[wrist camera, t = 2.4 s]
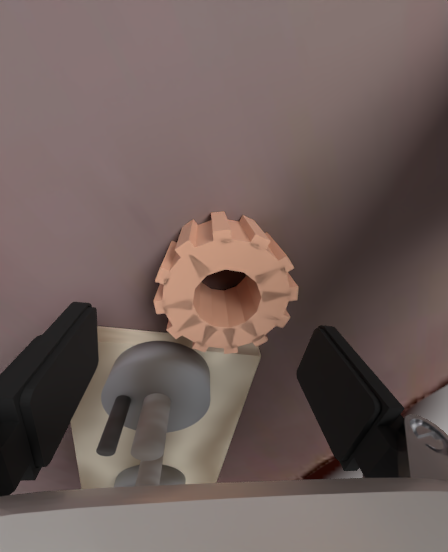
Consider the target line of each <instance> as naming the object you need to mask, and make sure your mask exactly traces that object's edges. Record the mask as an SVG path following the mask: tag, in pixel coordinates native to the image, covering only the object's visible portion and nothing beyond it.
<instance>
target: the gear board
mask: <svg viewBox="0 0 448 552" xmlns="http://www.w3.org/2000/svg"><path fill="white" fill-rule="evenodd" d="M97 333H98V355H99V362H98V366H97V369H96V371H95V373H94V375H93V377H92V379H91V381H90V383H89V385H88V387H87V389H86V391H85V393H84V395H83V397H82V399H81V401H80V403H79V405H78V407H77V409H76V411H75V413H74V415H73V417H72V419H71V428H72V434H73V440H74V446H75V452H76V458H77V464H78V470H79V476H80V482H81V489H93V488H109V487H132V486H156V485H180V484H204V483H216V482H217V479H218V476H219V473H220V470H221V468H222V465H223V462H224V459H225V456H226V453H227V451H228V448H229V445H230V442H231V439H232V437H233V434H234V431H235V428H236V425H237V423H238V420H239V417H240V414H241V411H242V408H243V406H244V403H245V400H246V397H247V394H248V392H249V389H250V386H251V383H252V380H253V378H254V375H255V372H256V369H257V366H258V363H259V361H260V358H261V354H260V351H259V347H258V346H257V347H256V346H255V345H254V344H253V342H252V343H249V344H246V345H242V346H239V347H238V353H230V354H224V348H214V347H208V348H207V350H206V352H202V351H199V350H196V349H192V344H193V341H191V340H189V339H188V338H186V337H184V336H180V337H179V338H177V339H175V338H174V337H173V336H172V335H171V334H170V333H162V332H152V331H142V330H132V329H122V328H112V327H102V326H97Z"/></svg>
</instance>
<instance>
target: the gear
mask: <svg viewBox="0 0 448 552" xmlns="http://www.w3.org/2000/svg"><path fill="white" fill-rule="evenodd" d="M211 219H212V220H210V221H207V222H205V223H202V224H199V225H197V223H196V222H195V221H194V219H193V220H191V221H190V222H188V223H187V224H186V225H184V226H183V227H182V230H181V233H180V235H179V238H178V241H177V242H174V241H171V243H170V246H169V248H168V250H167V253H166V255H165V257H164V260H163V262H162V264H161V267H160V269H159V272H158V274H157V277H156V279H155V282H157V283H160V285H159V287H158V290H157V293H156V295H155V298H154V301H153V302H154V306H155V310H156V314H164V313H165V314H166V315H167V317H168V319H169V320H168V324H167V329H166V330H167V331H168V332H169V333H170V334H171V335H172V336H173V337H174V338H175V339H177V338H179V337H180V336H184V337H186V338H188V339H189V340H191V341H193V344H192V349H196V350H199V351H202V352H206V350H207V348H208V347H214V348H224V354H230V353H238V347H239V346H242V345H246V344H249V343H252V342H253V344H254V345H255V346H256V347H257V346H259V345H261V344H263V343H265V342H266V341H268V338H267V335H266V334H267V333H268V332H269V331H271V330H272V329H273V328H274V327H275V326H278V327H281V328H283V327H284V326H285V324H286V323H287V322H288V320H289V319H290V318H291V317H290V316H289V314H288V312H287V310H286V307H287V305H288V302H289V301H295V300H297V298H298V286H297V284H296V283H295V282H294V280H293V279H292V277H291V276H290V275H289V273H288V272H289V271H291V270H292V269H294V267H293V265H292V263H291V262H290V260H289V258H288V257H287V255H286V254H285V253H284V252H283V250H282V249H281V248H280V247H279V246H278V245H277V243H276V242H275V241H274V240H273V239H272V237H271V236H270V235H269V234H268V233H267V232H266V233H264V232H263V231H262V230H261V228H260V227H259V226H258V225H257V223H256V222H255V221H254V220H252V219H250V218H248V217H246V216H244V215H242V217H241V219H240V221H234V220H228V219H227V217H226V215H225V212H224V211H222V212H211ZM222 270H232V271H239V272H244V273H245V274H246V276H245V278H244V279H243V280H242V281H241V282H240V283H239V284H238V285H237V286H236V287H233V288H230V289H227V290H216V289H211V288H209V287H208V286H206V285H205V284H204V283H202V282H201V281H202V280H203V279H204V278H205V277H206V276H207V275H210V274H213V273H216V272H219V271H222Z"/></svg>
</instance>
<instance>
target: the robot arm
mask: <svg viewBox="0 0 448 552" xmlns="http://www.w3.org/2000/svg"><path fill="white" fill-rule="evenodd" d="M98 362H99V355H98V333H97V311H96V308H94V307H92V305H91V304H90V303H81V302H73V303H71V304H70V305H69V307H68V308H67V309H66V310H65V311H64V312H63V313H62V314H61V315H60V316H59V317H58V319H57V320H56V321H55V322H54V323H53V324H52V325H51V326H50V327H49V328H48V329H47V330H46V332H45V333H44V334H43V335H40V336H37V337H36V338H35V339H34V340H33V341H32V342H31V343H30V344H29V345H28V346H27V347H26V348H25V349H24V350H23V351H22V352H21V353H20V354H19V356H18V357H17V358H16V359H15V360H14V361H13V362H12V363H11V364H10V365H9V366H8V367H7V368H6V369H5V370H4V371H3V372H2V373H1V375H0V552H448V435H447V434H446V433H445V432H444V431H443V430H441V429H440V428H439V427H438V426H436V425H435V424H433V423H432V422H430V421H429V420H427V419H425V418H422V417H420V416H417V415H413V414H412V415H407V416H406V417H405V418H403V417H402V416H401V412H402V411H403V410H404V407H403V406H402V405H401V404H400V403H399V402H398V400H397V399H396V398H395V397H394V396H393V395H392V393H391V392H390V391H389V390H388V389H387V388H386V386H385V385H384V384H383V383H382V382H381V381H380V380H379V378H378V377H377V376H376V375H375V374H374V373H373V371H372V370H371V369H370V368H369V367H368V366H367V364H366V363H365V362H364V361H363V360H362V359H361V358H360V356H359V355H358V354H357V353H356V352H355V351H354V349H353V348H352V347H351V346H350V345H349V344H348V342H347V341H346V340H345V339H344V338H343V337H342V336H341V334H340V333H339V332H338V331H337V330H336V329H335V328H334V327H332V326H322V325H321V326H319V327H318V328H316V329H315V330H314V332H313V335H312V337H311V339H310V342H309V344H308V346H307V349H306V351H305V353H304V355H303V358H302V360H301V362H300V365H299V367H298V369H297V379H298V381H299V383H300V386H301V388H302V390H303V392H304V394H305V396H306V398H307V400H308V402H309V404H310V406H311V409H312V411H313V413H314V415H315V417H316V419H317V421H318V423H319V425H320V427H321V430H322V432H323V434H324V436H325V438H326V440H327V442H328V444H329V446H330V448H331V450H332V453H333V455H334V456H335V458H336V459H337V460H339V461H340V463H341V465H342V467H343V470H344V471H355V470H356V471H357V470H358V469H359V467H360V469H361V471H362V473H363V478H350V479H318V480H286V481H258V482H231V483H204V484H180V485H156V486H132V487H109V488H93V489H77V490H60V491H44V492H35V493H26V494H17V495H10V494H11V493H12V492H14V491H15V489H16V488H17V486H18V484H19V482H20V481H21V480H35V479H36V477H37V475H38V473H39V471H40V470H41V468H42V467H46V466H48V464H49V463H50V462H51V460H52V458H53V456H54V454H55V452H56V450H57V448H58V446H59V444H60V442H61V440H62V438H63V436H64V434H65V432H66V430H67V428H68V426H69V424H70V422H71V419H72V417H73V415H74V413H75V411H76V409H77V407H78V405H79V403H80V401H81V399H82V397H83V395H84V393H85V391H86V389H87V387H88V385H89V383H90V381H91V379H92V377H93V375H94V373H95V371H96V369H97V366H98Z"/></svg>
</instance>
